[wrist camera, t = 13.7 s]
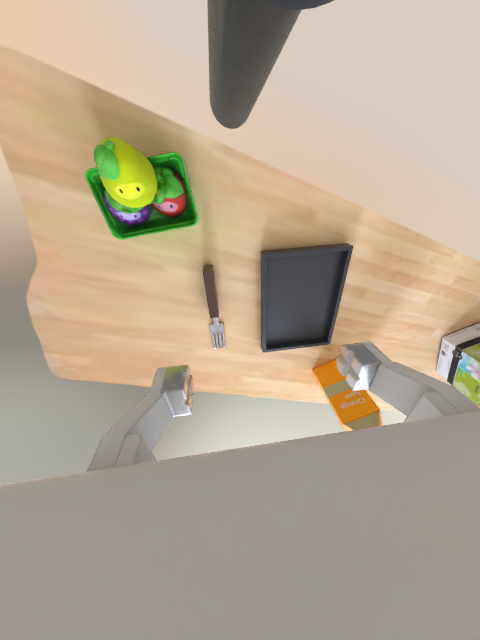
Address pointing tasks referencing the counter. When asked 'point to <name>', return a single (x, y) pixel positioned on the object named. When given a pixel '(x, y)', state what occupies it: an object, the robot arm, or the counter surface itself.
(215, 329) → the fork
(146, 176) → the fruit basket
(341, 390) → the orange juice
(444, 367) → the tea box
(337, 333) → the counter surface
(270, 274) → the tray
